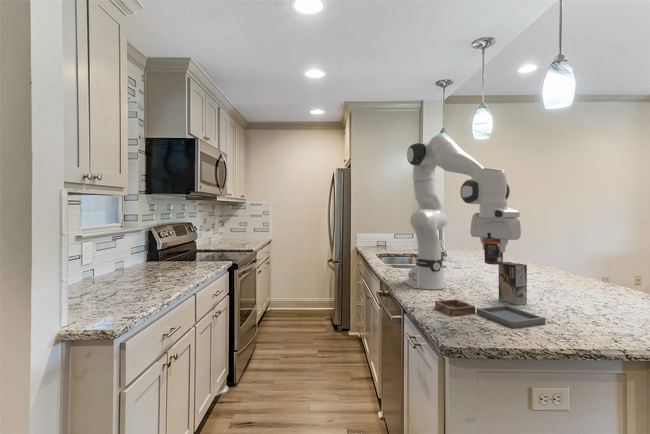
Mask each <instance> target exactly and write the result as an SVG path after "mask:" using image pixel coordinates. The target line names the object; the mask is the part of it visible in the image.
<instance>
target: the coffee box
mask: <svg viewBox="0 0 650 434" xmlns="http://www.w3.org/2000/svg"><path fill="white" fill-rule="evenodd" d="M527 266H528V265H527V264H525V263H524V264H523V263H518V262H512V261H503V264H500V265H498V300H499V301H503V302H506V303H509V304H512V305H515V306H518V305H526V304H528V301H527V300H528V294H527V293H528V289H527V288H528V273H527V272H528V271H527V270H528V267H527Z"/></svg>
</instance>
